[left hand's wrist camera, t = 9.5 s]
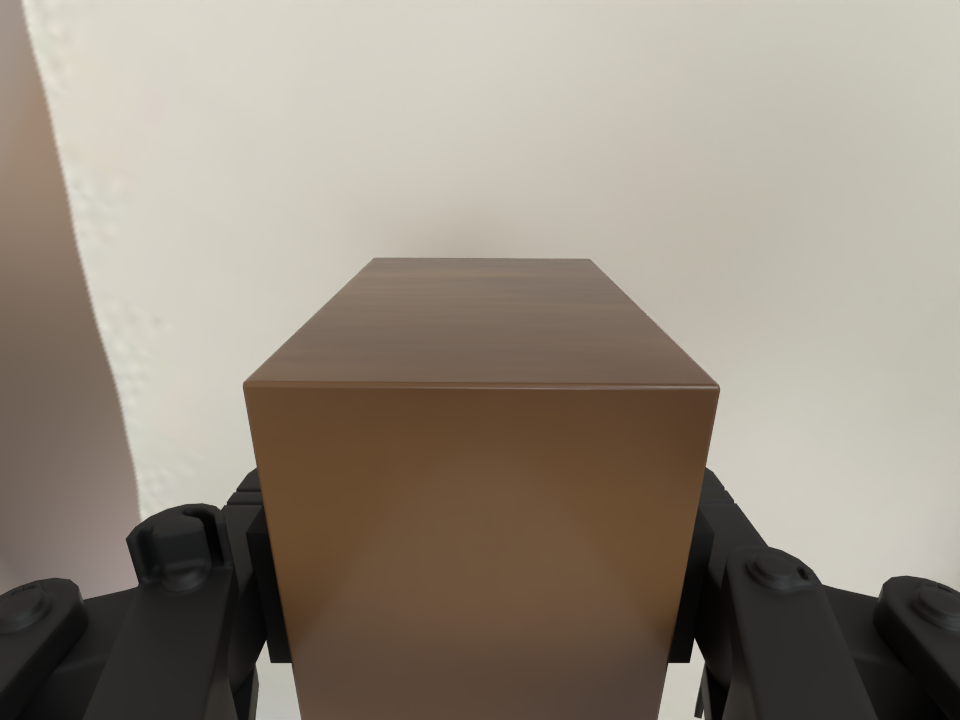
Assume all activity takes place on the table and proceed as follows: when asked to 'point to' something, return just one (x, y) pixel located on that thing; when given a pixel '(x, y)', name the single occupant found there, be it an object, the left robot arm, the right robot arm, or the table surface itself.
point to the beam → (480, 492)
